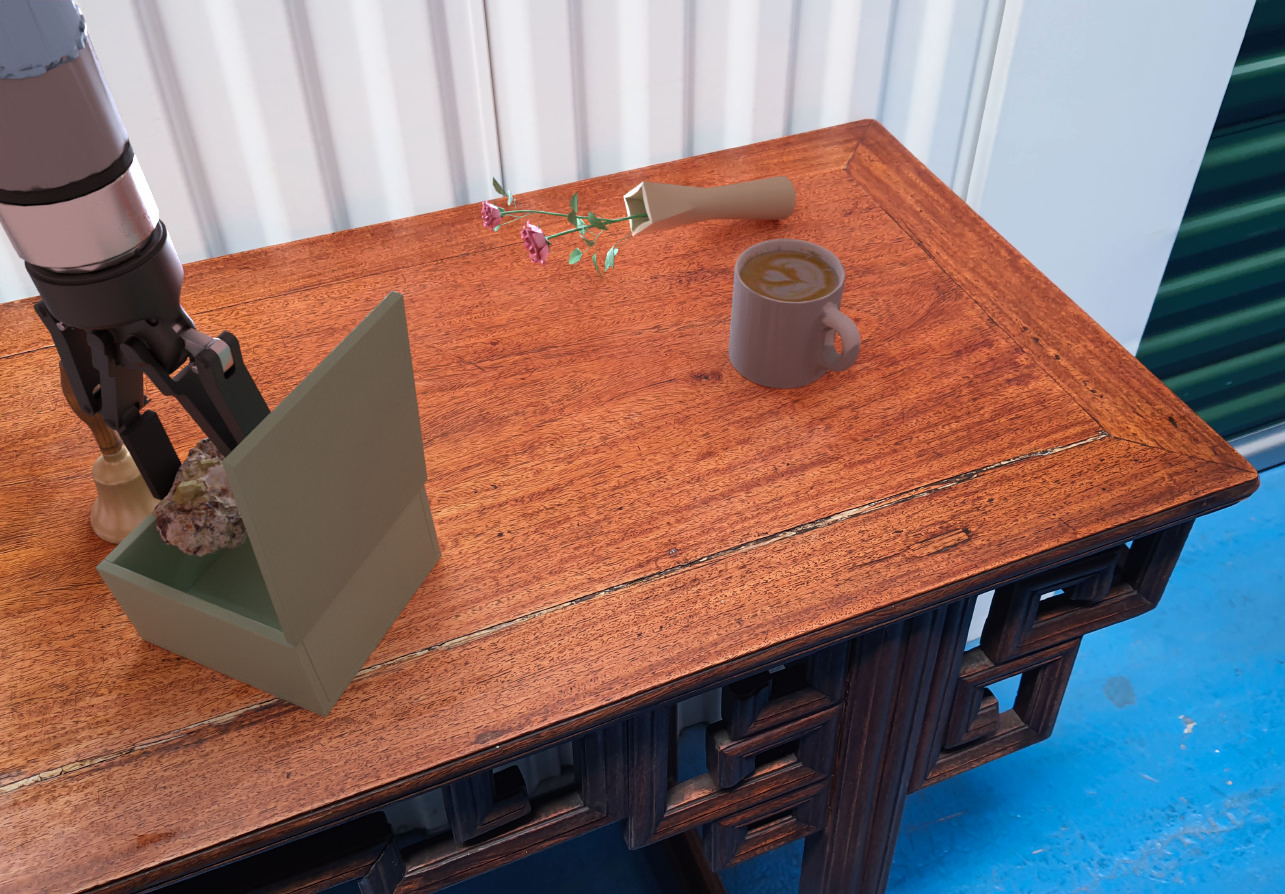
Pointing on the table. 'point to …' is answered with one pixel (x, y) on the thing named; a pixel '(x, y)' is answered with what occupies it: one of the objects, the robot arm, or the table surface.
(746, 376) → the coffee mug
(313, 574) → the chest lid
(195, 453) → the mineral rock
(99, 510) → the hand bell
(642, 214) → the flower vase
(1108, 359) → the table surface
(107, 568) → the chest
